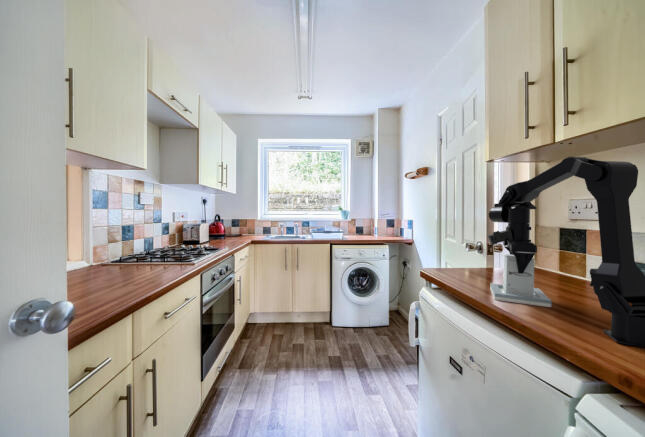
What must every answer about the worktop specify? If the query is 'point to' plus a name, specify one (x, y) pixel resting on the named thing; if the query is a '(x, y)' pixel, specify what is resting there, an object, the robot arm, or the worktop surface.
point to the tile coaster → (520, 296)
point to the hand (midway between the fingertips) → (517, 270)
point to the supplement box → (517, 277)
